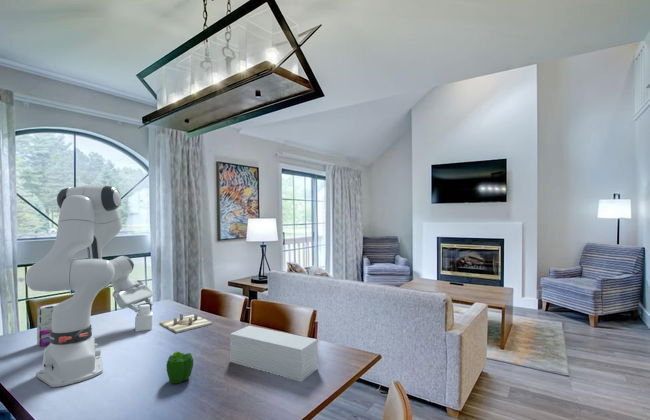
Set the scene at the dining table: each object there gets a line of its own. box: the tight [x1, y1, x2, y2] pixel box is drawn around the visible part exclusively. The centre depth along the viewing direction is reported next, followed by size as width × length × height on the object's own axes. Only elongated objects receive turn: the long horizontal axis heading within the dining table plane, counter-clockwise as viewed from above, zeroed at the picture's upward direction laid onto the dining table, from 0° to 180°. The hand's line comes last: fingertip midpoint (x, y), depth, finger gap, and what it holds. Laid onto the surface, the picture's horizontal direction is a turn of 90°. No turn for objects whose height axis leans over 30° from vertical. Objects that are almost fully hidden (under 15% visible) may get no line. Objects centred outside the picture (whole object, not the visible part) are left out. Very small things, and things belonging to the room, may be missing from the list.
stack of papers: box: [229, 325, 318, 383], centre depth 119 cm, size 32×11×11 cm, turn 62°
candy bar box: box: [36, 302, 60, 348], centre depth 142 cm, size 11×5×16 cm, turn 143°
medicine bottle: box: [134, 302, 154, 332], centre depth 159 cm, size 7×7×12 cm
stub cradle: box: [159, 313, 213, 334], centre depth 166 cm, size 20×18×4 cm
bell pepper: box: [166, 351, 194, 385], centre depth 108 cm, size 8×8×10 cm
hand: (144, 308), depth 159 cm, fingers open, 8 cm apart
